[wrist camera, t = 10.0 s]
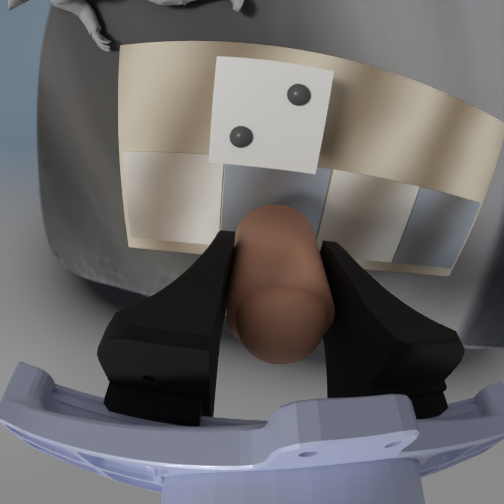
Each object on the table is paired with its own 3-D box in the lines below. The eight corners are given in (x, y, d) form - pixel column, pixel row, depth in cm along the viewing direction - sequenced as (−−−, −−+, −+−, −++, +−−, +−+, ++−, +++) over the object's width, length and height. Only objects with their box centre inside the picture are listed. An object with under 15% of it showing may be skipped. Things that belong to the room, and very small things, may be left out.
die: (313, 70, 12) (334, 71, 9) (301, 146, 14) (316, 175, 11) (227, 59, 12) (216, 56, 8) (220, 137, 14) (207, 163, 11)
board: (499, 121, 13) (508, 125, 12) (444, 269, 20) (449, 277, 19) (126, 45, 12) (119, 45, 11) (132, 239, 18) (128, 247, 18)
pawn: (321, 209, 13) (360, 318, 8) (305, 274, 15) (324, 385, 10) (238, 200, 13) (225, 310, 7) (232, 267, 15) (221, 381, 9)
